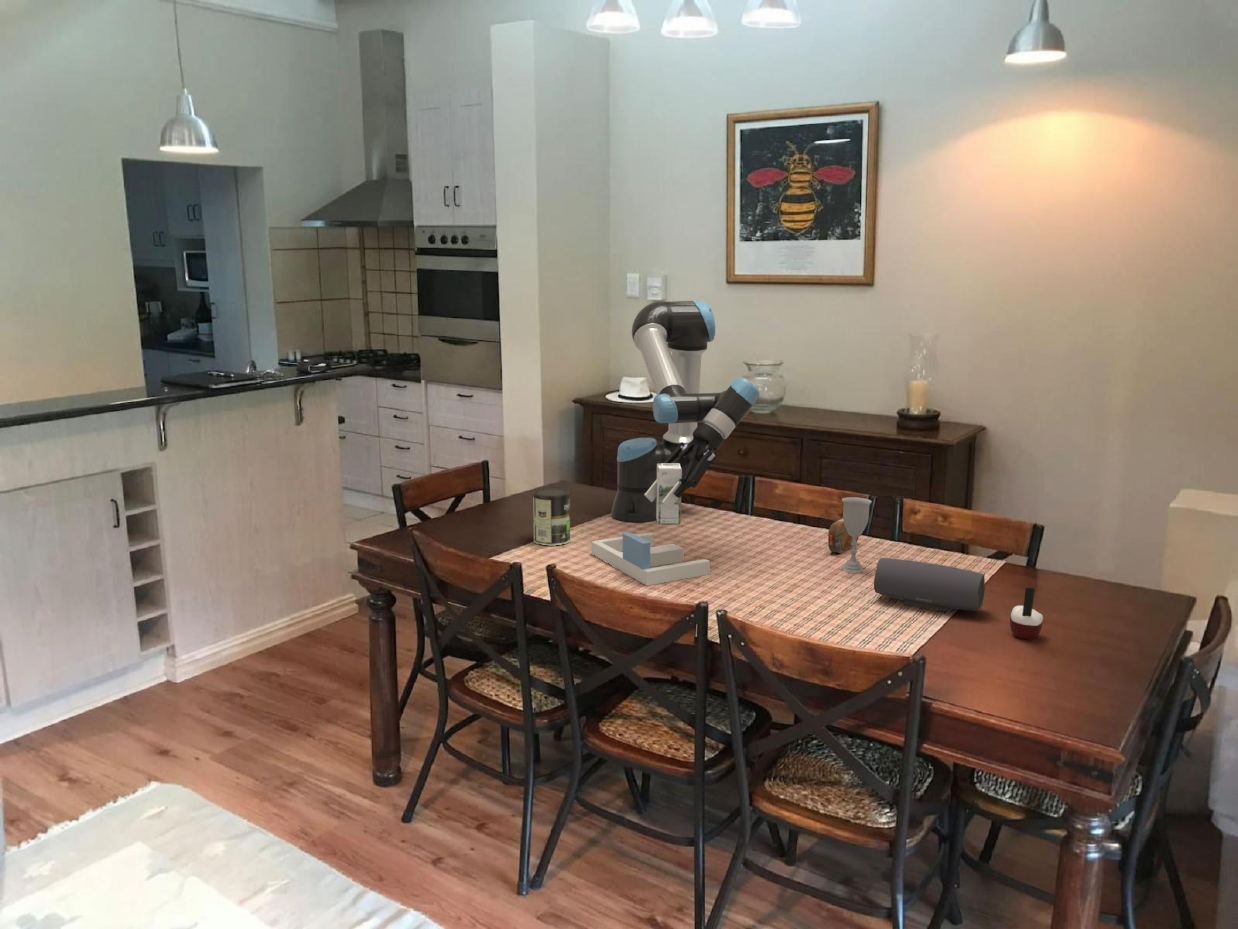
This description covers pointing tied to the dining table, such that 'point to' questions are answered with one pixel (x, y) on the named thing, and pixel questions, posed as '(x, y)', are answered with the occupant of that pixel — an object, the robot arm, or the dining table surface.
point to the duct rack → (648, 559)
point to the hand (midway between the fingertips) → (656, 501)
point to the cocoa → (1026, 618)
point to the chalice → (855, 527)
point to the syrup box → (665, 482)
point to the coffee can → (551, 516)
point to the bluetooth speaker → (929, 585)
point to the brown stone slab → (839, 537)
